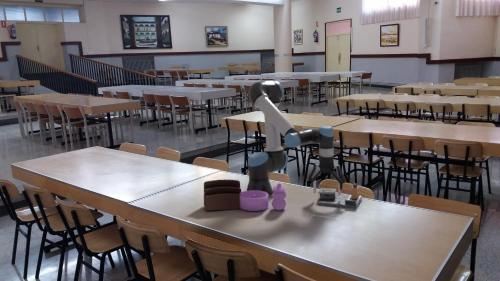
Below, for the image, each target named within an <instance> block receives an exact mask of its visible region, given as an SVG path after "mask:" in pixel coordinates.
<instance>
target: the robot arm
mask: <svg viewBox="0 0 500 281" xmlns="http://www.w3.org/2000/svg"><path fill="white" fill-rule="evenodd" d="M248 89H249V90H248V98H249V100H250V103H251V104H252V105H253V106H254V107H255V108H256V109H259V110H260V111H261V112H262V113H263V114H264V115H263V116H264V130H265V142H266V147H265V148H264V149H263V151H260V152H254V153H252V154H250V155H249V156H248V161H247V167H248V184H247V187H246V191H249V190H258V191H263V192H266V193H268V196H270V195H272V193H273V187H272V184H271V182H270V176H269V174H271V173H274V172H279V171H282V170H284V169H285V168H286V167H287V166H288V163H289V155H288V154H287V152H286V151H285V150H284V147H283V146H281V145H282V144H281V135H282V136H283V137H284V143H285V145H286V147H288V148H298V147H300V146H304V145H310V144H318V146H319V147H318V148H319V150H318V153H319V157H318V158H319V162H318V163H317V162H315V163H314V164H313V167H312V170H311V171H310V174H309V176H308V178H307V180H308V181H310V182H311V188H312V191H313V192H312V193H313V194H314V195H315V194H316V193H317V180H316V179H317V178H318V177H319V176H320V175H321V173H323V174H331V175H332V176H333V177H334V178H335V180H336V181H337V182H338V184H337V193H338V194H337V195H338V196H340V195H342V193H341V192H342V191H341V190H343V186H344V185H343V184H345V183H347V179H346V178H345V177H346V176H344V174H343V171H342V169H341V165H340V164H338V165H335V161H334V160H335V157H334V155H335V154H334V153H335V152H334V150H335V149H334V137H335V135H334V134H335V133H334V128H333V127H332V126H330V125H329V126H328V125H324V126H320V127H318V129H313V128H309V127H308V128H302V130H298V129H297V128H296V127H295V126H294V125H293V124H292V123H291V121H289V119H288V118H287V117H286V116H285V115H284V114H283V113H282V112H281V110H279V106H280V104H281V99H283V97H284V95H285V92H284V91H285V89H284V87H283V85H282V84H281V83H280V82H279V81H276V80H266V81H264V80H263V81H257V82H254V83H252V84H251V85H250V87H249V88H248ZM318 168H319V170H318V171H317V173H316V174H315V172H316V170H317V169H318ZM334 169H335V170H336V171H337V173H338V174H337V173H336V171H335V170H334ZM314 174H315V175H314Z"/></svg>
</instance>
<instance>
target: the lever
mask: <svg viewBox="0 0 500 281" xmlns="http://www.w3.org/2000/svg"><path fill="white" fill-rule="evenodd" d="M350 195H351V199H358V198H359V196H360V187H359V186H358V183H352V187H351V189H350Z"/></svg>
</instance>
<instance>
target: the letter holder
mask: <svg viewBox="0 0 500 281" xmlns="http://www.w3.org/2000/svg"><path fill="white" fill-rule="evenodd" d="M241 192H242V189H241V180H239V179H212V180H206V181H204V182H203V207H204V211H206V212H207V211H227V210H229V211H230V210H242V209H241V208H240V195H241V194H240V193H241Z"/></svg>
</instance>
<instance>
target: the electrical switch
mask: <svg viewBox="0 0 500 281" xmlns="http://www.w3.org/2000/svg"><path fill="white" fill-rule="evenodd" d="M337 192H338V189H337V188H318V192H317V194H318V195H319V199H321V198H325V199H334V197H335V195H337V194H336V193H337ZM326 195H329V197H328V196H326Z"/></svg>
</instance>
